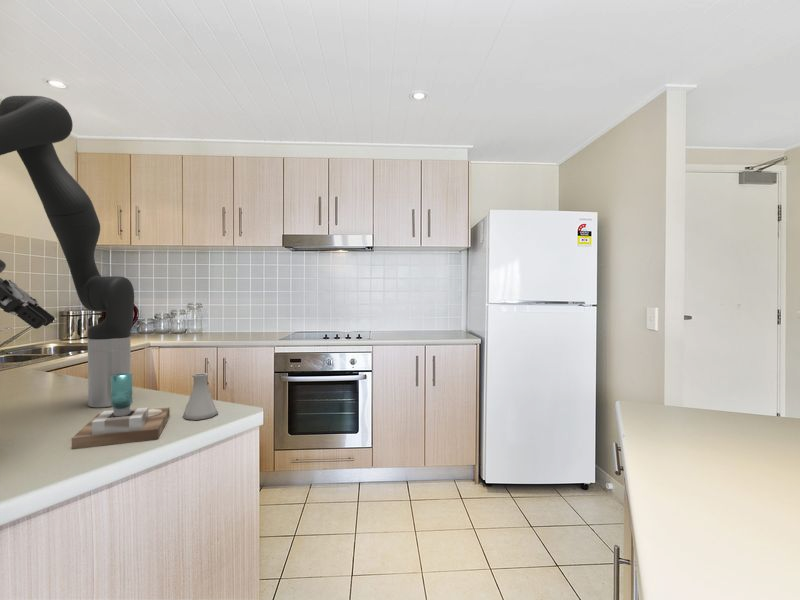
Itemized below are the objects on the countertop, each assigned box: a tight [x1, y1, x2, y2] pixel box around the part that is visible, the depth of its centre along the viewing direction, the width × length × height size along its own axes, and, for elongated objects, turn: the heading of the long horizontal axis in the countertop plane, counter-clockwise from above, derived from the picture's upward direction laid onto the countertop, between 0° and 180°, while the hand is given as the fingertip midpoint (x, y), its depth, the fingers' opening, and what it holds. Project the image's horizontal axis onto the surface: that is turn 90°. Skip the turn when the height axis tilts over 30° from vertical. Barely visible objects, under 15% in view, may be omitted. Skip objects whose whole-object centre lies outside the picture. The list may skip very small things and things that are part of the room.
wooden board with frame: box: [71, 406, 171, 450], centre depth 88 cm, size 17×14×4 cm
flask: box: [182, 372, 219, 421], centre depth 99 cm, size 7×7×10 cm
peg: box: [110, 372, 133, 418], centre depth 84 cm, size 4×4×10 cm
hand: (46, 323), depth 78 cm, fingers open, 8 cm apart
